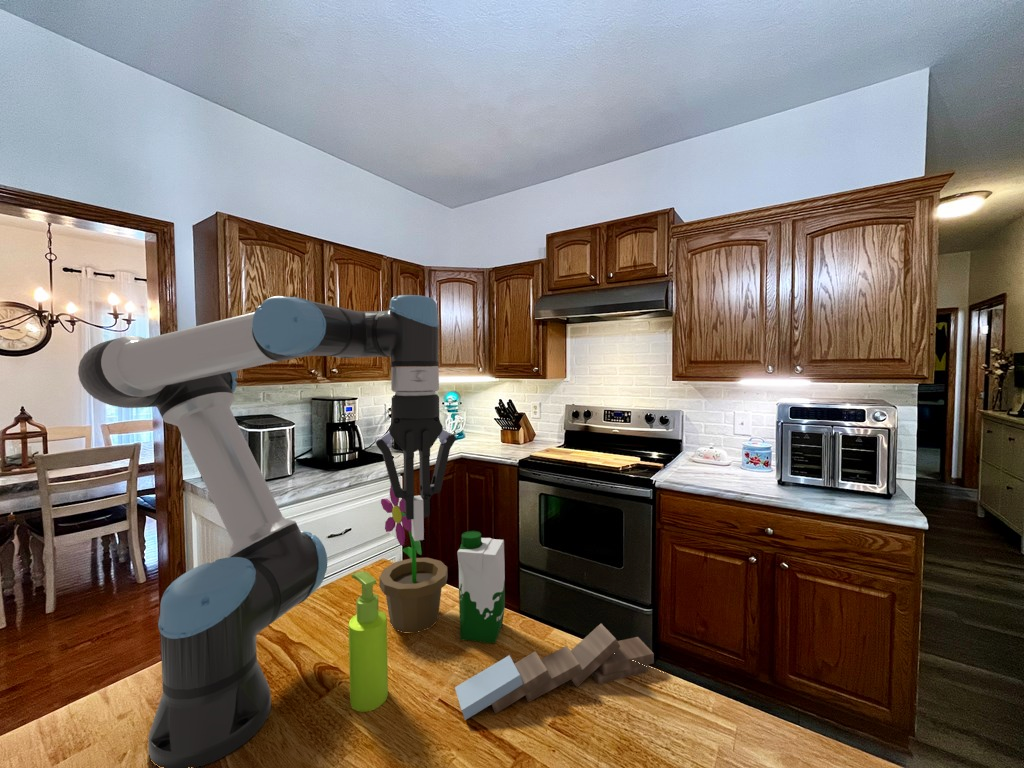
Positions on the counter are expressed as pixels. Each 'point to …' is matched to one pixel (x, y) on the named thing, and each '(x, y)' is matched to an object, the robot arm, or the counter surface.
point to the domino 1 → (488, 687)
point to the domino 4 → (593, 652)
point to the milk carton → (481, 587)
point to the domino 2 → (525, 680)
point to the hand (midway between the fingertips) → (417, 537)
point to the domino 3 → (557, 671)
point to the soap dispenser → (368, 649)
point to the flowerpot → (410, 578)
